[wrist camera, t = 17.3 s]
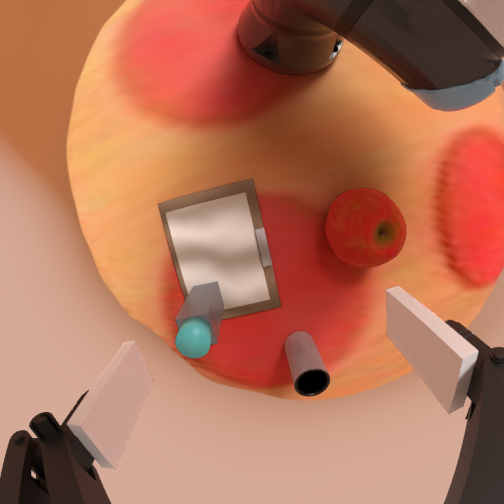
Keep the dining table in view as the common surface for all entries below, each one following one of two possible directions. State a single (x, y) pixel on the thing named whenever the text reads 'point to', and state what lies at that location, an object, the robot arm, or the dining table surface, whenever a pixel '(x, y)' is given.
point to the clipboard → (222, 246)
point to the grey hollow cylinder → (306, 364)
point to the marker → (199, 320)
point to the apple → (365, 228)
